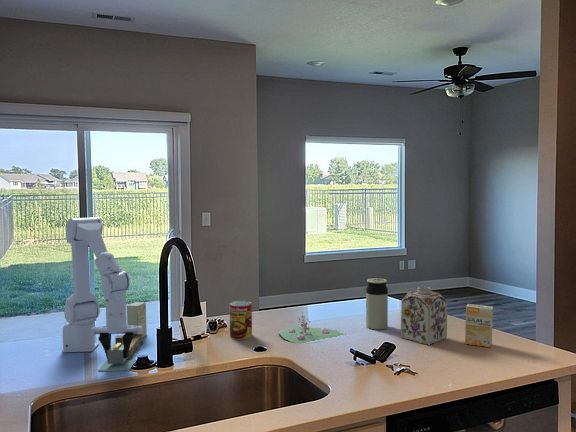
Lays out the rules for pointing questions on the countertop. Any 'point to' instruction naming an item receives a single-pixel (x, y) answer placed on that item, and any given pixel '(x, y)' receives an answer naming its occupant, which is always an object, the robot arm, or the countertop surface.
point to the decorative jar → (424, 316)
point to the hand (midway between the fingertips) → (117, 357)
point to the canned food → (240, 320)
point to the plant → (307, 333)
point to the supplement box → (479, 325)
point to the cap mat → (117, 366)
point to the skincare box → (137, 315)
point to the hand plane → (133, 346)
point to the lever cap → (116, 354)
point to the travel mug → (377, 304)
